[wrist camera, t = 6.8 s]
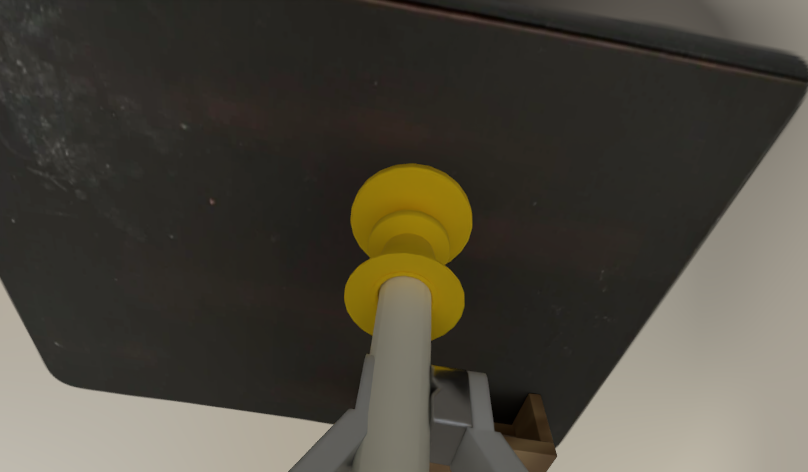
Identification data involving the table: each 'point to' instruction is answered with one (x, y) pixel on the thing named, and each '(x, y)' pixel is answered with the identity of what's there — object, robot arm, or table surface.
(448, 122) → the table surface
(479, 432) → the robot arm
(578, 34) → the table surface
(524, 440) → the shelf
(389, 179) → the candle
